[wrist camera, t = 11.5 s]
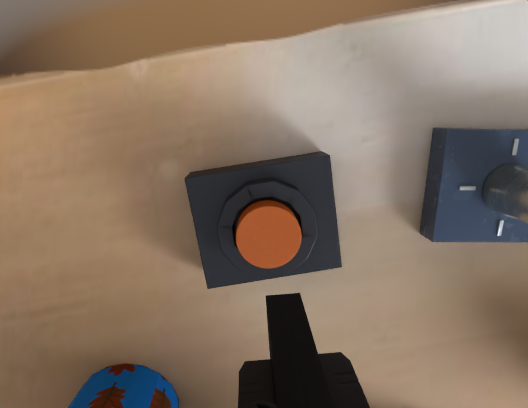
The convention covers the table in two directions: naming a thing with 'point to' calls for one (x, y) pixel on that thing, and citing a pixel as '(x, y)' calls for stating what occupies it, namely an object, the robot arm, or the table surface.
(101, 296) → the table surface
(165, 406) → the thermos
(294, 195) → the black button base
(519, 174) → the dial knob
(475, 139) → the dial panel
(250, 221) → the button
